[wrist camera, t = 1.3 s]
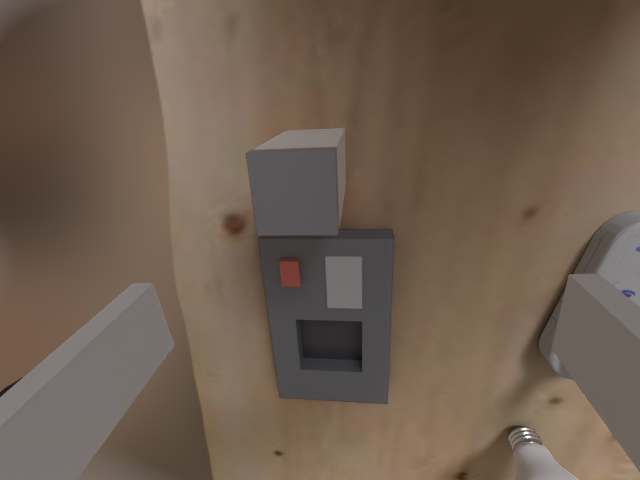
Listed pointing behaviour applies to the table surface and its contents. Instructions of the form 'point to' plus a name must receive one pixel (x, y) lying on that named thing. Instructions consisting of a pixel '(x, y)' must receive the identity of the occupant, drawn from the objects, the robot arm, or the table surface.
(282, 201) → the plug
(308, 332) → the socket block
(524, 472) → the light bulb
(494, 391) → the table surface
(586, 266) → the electronic device
